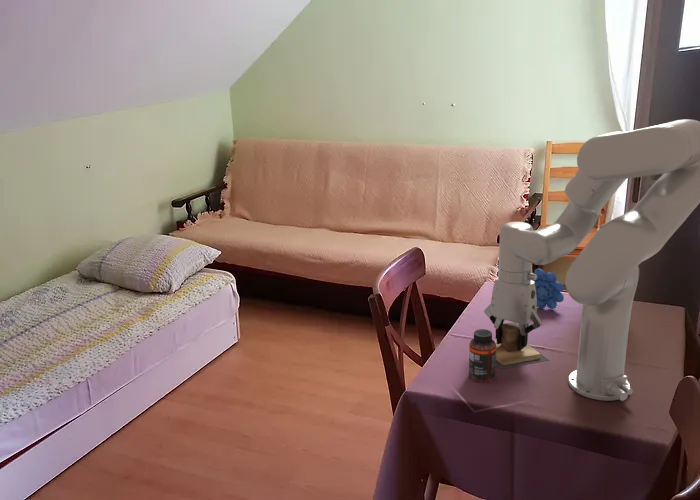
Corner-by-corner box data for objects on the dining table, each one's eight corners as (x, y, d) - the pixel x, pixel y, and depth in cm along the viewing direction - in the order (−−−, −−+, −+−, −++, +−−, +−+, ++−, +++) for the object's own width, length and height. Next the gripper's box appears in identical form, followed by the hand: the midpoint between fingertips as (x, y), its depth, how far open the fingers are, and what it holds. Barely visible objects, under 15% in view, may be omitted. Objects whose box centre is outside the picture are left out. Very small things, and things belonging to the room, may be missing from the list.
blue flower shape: (518, 312, 178) (520, 272, 174) (521, 303, 184) (523, 264, 180) (562, 316, 174) (565, 275, 170) (563, 307, 180) (566, 267, 176)
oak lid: (540, 358, 151) (542, 330, 148) (502, 365, 148) (504, 337, 146) (518, 341, 160) (519, 314, 158) (482, 347, 157) (483, 320, 155)
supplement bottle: (493, 371, 146) (495, 327, 143) (496, 384, 140) (498, 338, 137) (467, 371, 147) (468, 326, 143) (469, 384, 141) (470, 338, 138)
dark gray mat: (549, 361, 150) (549, 360, 150) (500, 370, 146) (500, 369, 146) (520, 339, 162) (520, 337, 162) (474, 347, 158) (474, 345, 158)
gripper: (556, 277, 145) (551, 348, 151) (489, 263, 156) (486, 331, 161) (542, 287, 140) (537, 360, 145) (474, 272, 150) (472, 341, 156)
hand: (511, 344), depth 153 cm, fingers closed on oak lid, 4 cm apart
